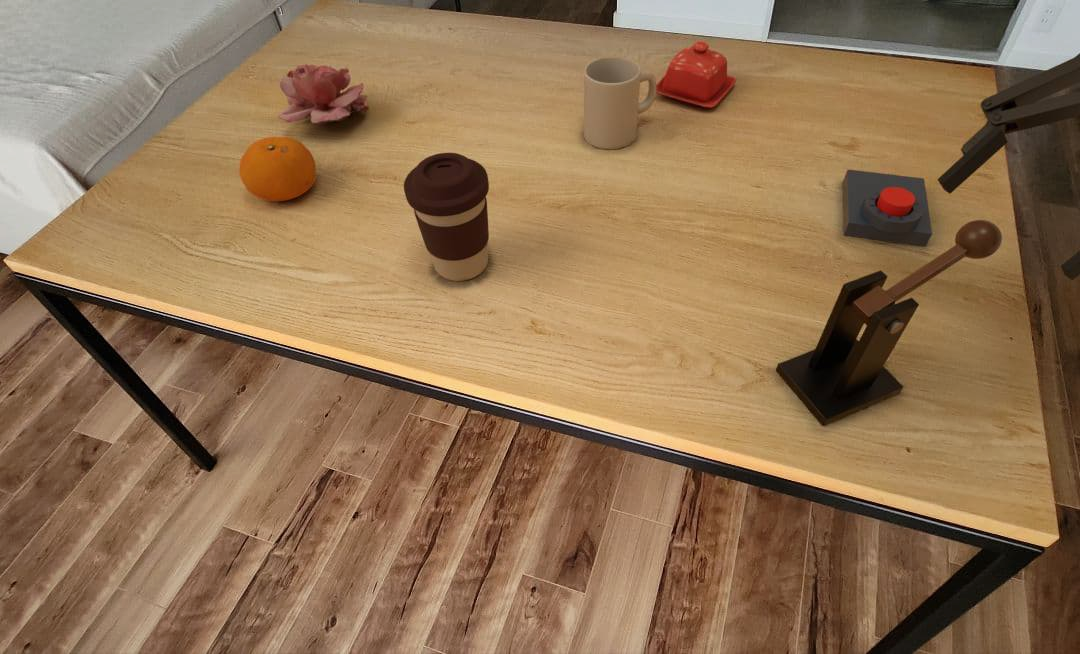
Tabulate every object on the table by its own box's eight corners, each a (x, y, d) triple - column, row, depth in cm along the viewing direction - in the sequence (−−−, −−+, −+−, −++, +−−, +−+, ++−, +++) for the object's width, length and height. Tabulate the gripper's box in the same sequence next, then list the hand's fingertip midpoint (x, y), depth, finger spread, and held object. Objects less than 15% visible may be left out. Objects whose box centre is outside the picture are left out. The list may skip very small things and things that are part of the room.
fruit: (304, 215, 94) (285, 169, 88) (239, 208, 95) (216, 163, 89) (333, 172, 100) (317, 127, 94) (272, 167, 102) (252, 122, 96)
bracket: (848, 341, 73) (892, 251, 63) (900, 393, 69) (956, 305, 58) (775, 370, 71) (808, 282, 61) (822, 426, 66) (867, 341, 56)
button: (911, 219, 81) (916, 208, 80) (877, 214, 82) (881, 203, 81) (908, 200, 84) (913, 189, 82) (875, 195, 85) (880, 185, 83)
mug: (598, 155, 100) (599, 89, 92) (574, 129, 105) (574, 64, 97) (665, 135, 103) (672, 69, 94) (639, 110, 108) (643, 46, 100)
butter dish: (738, 84, 112) (748, 35, 105) (711, 115, 106) (719, 66, 99) (678, 69, 116) (683, 21, 110) (648, 98, 110) (652, 50, 104)
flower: (355, 133, 102) (336, 67, 97) (273, 142, 105) (250, 79, 100) (388, 109, 114) (373, 50, 109) (314, 118, 117) (296, 61, 112)
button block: (926, 251, 82) (939, 227, 79) (843, 239, 85) (853, 216, 82) (918, 191, 90) (929, 167, 87) (842, 181, 93) (851, 158, 90)
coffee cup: (474, 299, 81) (457, 203, 70) (409, 276, 84) (383, 182, 73) (512, 250, 86) (501, 155, 75) (449, 231, 90) (430, 137, 78)
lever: (978, 227, 62) (981, 205, 59) (1009, 250, 60) (1014, 228, 57) (849, 311, 64) (847, 293, 61) (875, 336, 61) (874, 319, 59)
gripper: (1414, 125, 46) (1131, 328, 54) (1095, -1, 62) (911, 171, 70) (1444, 72, 41) (1126, 305, 49) (1088, -51, 57) (890, 141, 65)
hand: (1000, 227), depth 59 cm, fingers open, 13 cm apart
